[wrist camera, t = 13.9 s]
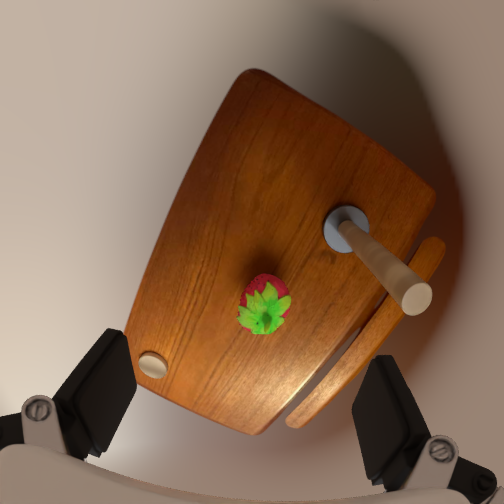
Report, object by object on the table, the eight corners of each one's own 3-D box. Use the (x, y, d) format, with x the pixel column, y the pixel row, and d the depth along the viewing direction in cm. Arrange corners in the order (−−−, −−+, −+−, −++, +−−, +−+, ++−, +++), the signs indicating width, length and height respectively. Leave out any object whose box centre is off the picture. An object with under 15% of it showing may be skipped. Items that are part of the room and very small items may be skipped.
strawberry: (299, 277, 38) (309, 315, 28) (266, 317, 40) (266, 363, 30) (262, 253, 37) (261, 286, 27) (231, 296, 39) (220, 338, 29)
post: (325, 201, 34) (389, 251, 15) (370, 207, 34) (462, 260, 15) (319, 248, 36) (366, 338, 17) (362, 252, 36) (436, 337, 17)
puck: (138, 349, 43) (136, 353, 42) (167, 355, 43) (165, 358, 42) (142, 371, 45) (140, 375, 44) (169, 377, 45) (167, 380, 44)
